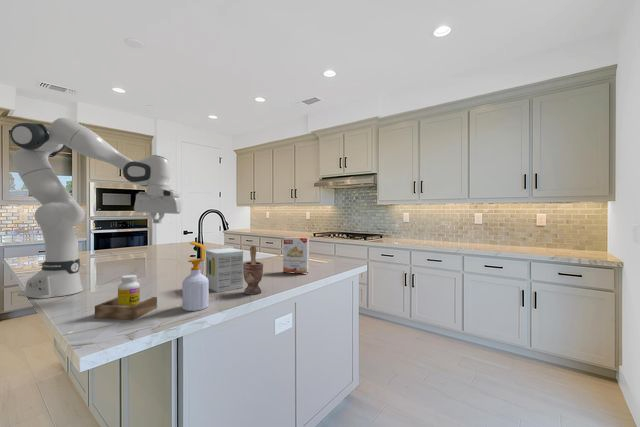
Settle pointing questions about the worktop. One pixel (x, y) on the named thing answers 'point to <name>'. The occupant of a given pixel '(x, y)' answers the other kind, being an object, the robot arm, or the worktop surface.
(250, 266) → the mortar and pestle
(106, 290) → the worktop surface
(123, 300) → the supplement bottle
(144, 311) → the corral
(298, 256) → the cracker box
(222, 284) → the supplement box
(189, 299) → the soap bottle
